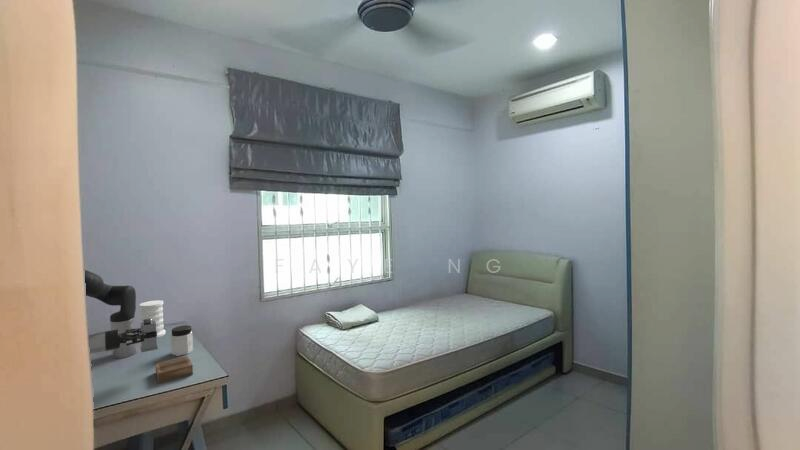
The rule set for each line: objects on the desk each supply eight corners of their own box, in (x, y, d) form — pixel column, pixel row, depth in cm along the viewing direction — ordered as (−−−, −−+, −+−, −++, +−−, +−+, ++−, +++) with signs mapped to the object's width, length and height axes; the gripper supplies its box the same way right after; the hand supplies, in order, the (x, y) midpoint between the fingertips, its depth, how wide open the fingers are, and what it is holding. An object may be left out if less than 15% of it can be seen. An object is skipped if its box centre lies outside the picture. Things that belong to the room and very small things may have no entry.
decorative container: (167, 330, 204) (165, 299, 203) (163, 337, 194) (162, 304, 193) (142, 333, 199) (141, 301, 198) (138, 340, 189) (136, 307, 188)
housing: (140, 348, 151) (139, 319, 150) (156, 345, 154) (155, 316, 153) (141, 352, 146) (140, 322, 146) (157, 349, 150) (156, 319, 149)
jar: (185, 356, 169) (184, 331, 168) (168, 356, 169) (167, 331, 168) (196, 348, 178) (195, 324, 177) (179, 348, 178) (178, 325, 177)
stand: (155, 372, 153) (155, 363, 152) (188, 364, 160) (187, 355, 160) (158, 383, 143) (158, 373, 143) (192, 374, 151) (192, 365, 151)
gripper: (103, 337, 135) (157, 327, 146) (104, 327, 146) (154, 319, 157) (104, 356, 136) (158, 345, 146) (105, 345, 147) (155, 335, 157)
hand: (156, 332), depth 151 cm, fingers closed on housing, 5 cm apart
